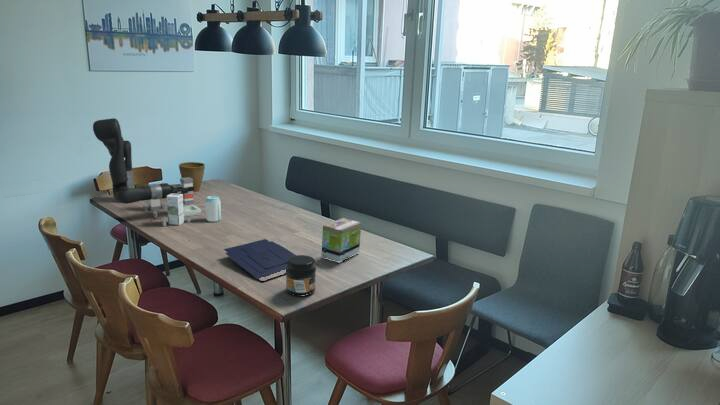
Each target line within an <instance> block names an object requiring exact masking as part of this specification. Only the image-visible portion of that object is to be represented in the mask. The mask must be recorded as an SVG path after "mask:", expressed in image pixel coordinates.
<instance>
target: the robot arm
mask: <svg viewBox="0 0 720 405" xmlns="http://www.w3.org/2000/svg"><path fill="white" fill-rule="evenodd" d="M92 131H93V134H94V136H95V138H96V139H97V140H98V141H99V142H101V143H102V144H103V145H104V146H105V148H106V149H107V150H108V154H109V155H110V157H111V158H110V159H109V164H108V170H109V174H110V179H111V183H112V193H113V194H112V195H113V198H114V199H115V201H116V202H117V203H121V204H133V203H137V202H141V201H142V202H143V201H148V200H156V199H160V200H162V199H167V196H168V195H169V194H171V193H173V194H186V193H188V192H189V191H194V187H182V186H181V183H177V184H170V183H168V182H165V183H152V184H153V185H150V184H147V185H148V186H147V185H140V186H138V187H135V186H134V174H133V162H132V157H133V156H132V143H131V141H129V140H124V138H123V135H122V134H123V133H122V130H121V125H120V122H119V120H118V119H117V118H115V117H114V118H113V117H112V118H106V119H104V118H103V119H100V120H99V119H98V120H95V121H94V122H93V124H92ZM184 190H185V191H184Z"/></svg>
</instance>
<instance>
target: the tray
mask: <svg viewBox="0 0 720 405" xmlns="http://www.w3.org/2000/svg"><path fill="white" fill-rule="evenodd" d="M183 213H184V218H186V216H189V217H192V216H199V215H202V209H201V208H199V207H197V206H196V205H194V204H188V205H183Z"/></svg>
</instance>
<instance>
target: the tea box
mask: <svg viewBox="0 0 720 405" xmlns="http://www.w3.org/2000/svg"><path fill="white" fill-rule="evenodd" d="M361 230H362V222H360V221H356V220H352V219H349V218H344V217H342V218H340V219H337V220H334V221H332V222H329V223H327V224H324V225H323V226H322V234H321V235H322V238H321V256H320V257H323V258H328V259H331V260H335V261H342V260H344V259H346V258H348V257H350V256H352V255H354V254H356V253H357V252H359V253H360V246H361V232H362V231H361Z"/></svg>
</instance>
